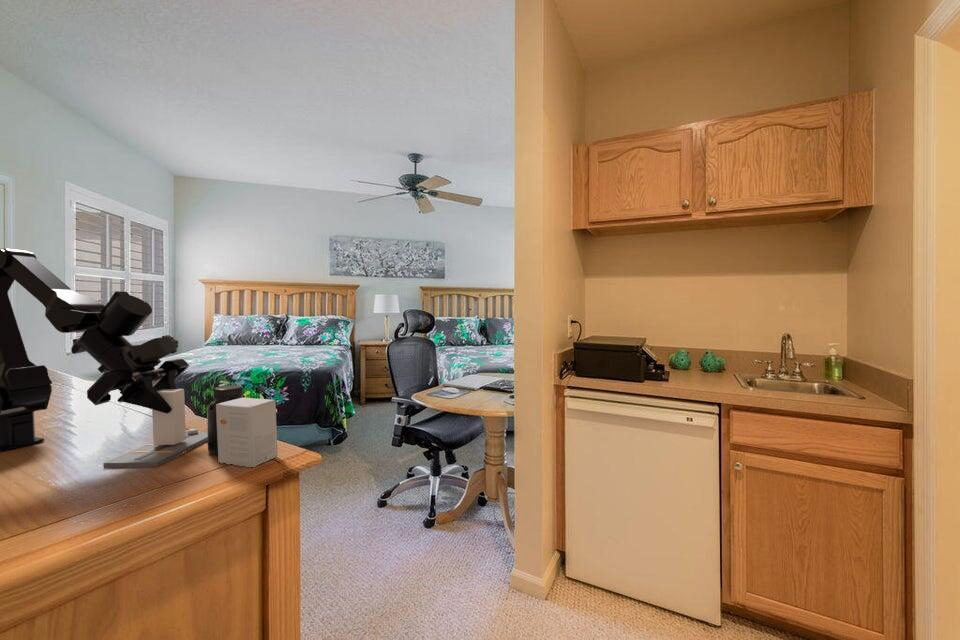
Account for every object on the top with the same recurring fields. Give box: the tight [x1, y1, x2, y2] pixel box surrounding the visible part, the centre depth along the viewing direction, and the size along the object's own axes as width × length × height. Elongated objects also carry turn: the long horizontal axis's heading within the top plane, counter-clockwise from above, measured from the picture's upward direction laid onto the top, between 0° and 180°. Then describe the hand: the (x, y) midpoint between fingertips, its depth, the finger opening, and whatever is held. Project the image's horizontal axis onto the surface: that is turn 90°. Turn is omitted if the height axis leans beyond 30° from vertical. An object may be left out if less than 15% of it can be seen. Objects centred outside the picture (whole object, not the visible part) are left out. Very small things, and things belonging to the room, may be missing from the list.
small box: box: [216, 397, 279, 468], centre depth 74 cm, size 8×6×10 cm
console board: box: [102, 428, 208, 469], centre depth 79 cm, size 17×9×2 cm, turn 1°
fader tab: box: [151, 388, 187, 445], centre depth 80 cm, size 3×4×10 cm
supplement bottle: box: [206, 384, 244, 456], centre depth 79 cm, size 7×7×12 cm
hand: (176, 409), depth 80 cm, fingers closed on fader tab, 3 cm apart
